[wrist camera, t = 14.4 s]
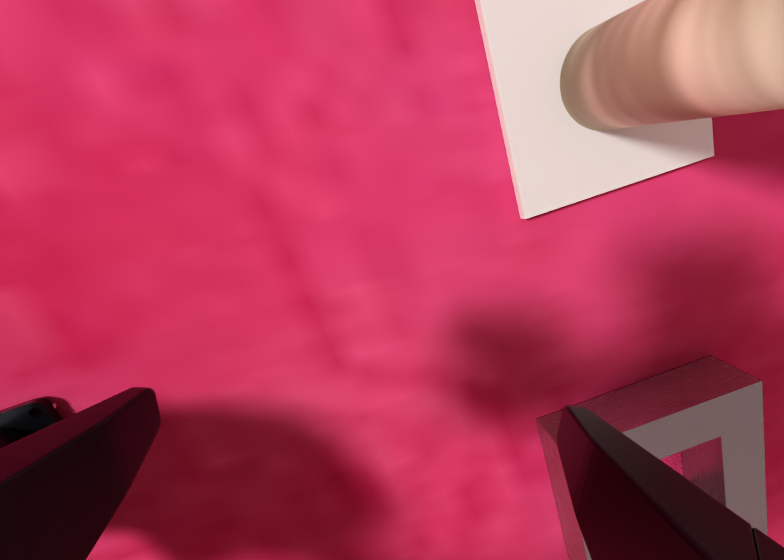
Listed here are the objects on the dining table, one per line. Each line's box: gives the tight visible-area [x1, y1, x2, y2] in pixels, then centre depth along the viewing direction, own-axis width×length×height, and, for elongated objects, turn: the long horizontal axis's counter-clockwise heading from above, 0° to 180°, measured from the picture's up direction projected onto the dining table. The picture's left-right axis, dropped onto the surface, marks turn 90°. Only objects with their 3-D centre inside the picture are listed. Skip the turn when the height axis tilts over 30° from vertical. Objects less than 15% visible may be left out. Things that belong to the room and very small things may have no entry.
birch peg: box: [560, 0, 784, 130], centre depth 13 cm, size 4×4×13 cm
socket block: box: [536, 355, 768, 560], centre depth 24 cm, size 11×11×3 cm
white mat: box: [475, 0, 714, 219], centre depth 19 cm, size 10×10×1 cm
